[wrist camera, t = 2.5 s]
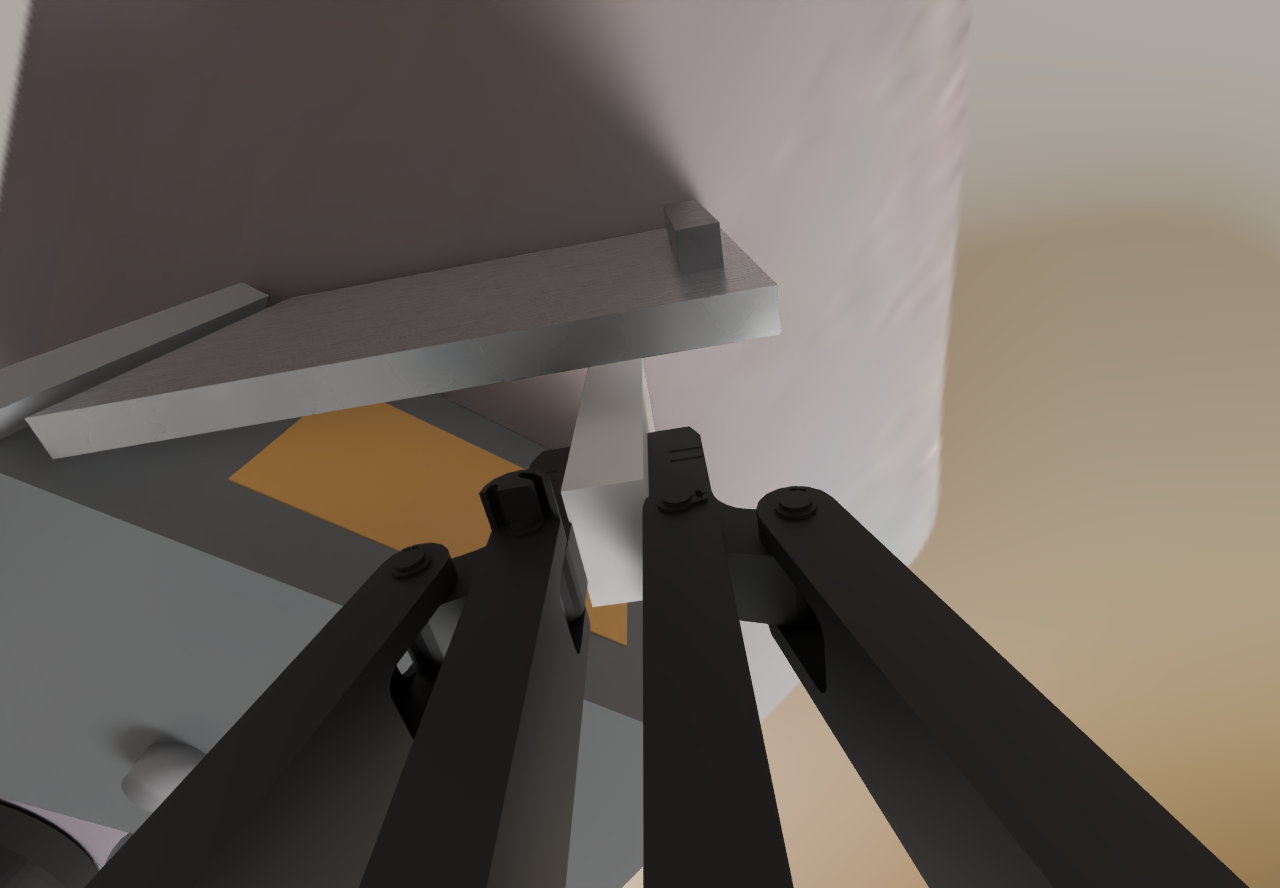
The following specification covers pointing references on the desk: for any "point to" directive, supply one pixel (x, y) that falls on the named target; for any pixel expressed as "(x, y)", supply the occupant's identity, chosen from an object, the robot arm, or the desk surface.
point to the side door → (436, 336)
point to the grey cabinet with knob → (241, 582)
